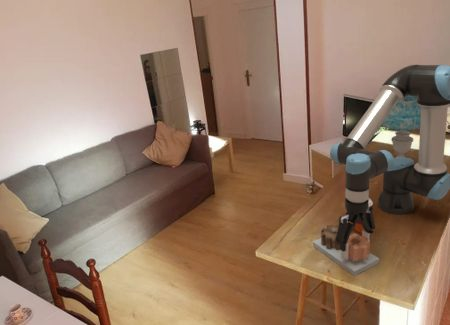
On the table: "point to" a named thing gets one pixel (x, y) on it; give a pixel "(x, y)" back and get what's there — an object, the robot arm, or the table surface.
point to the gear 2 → (358, 247)
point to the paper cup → (358, 225)
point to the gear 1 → (330, 237)
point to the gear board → (349, 263)
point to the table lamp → (403, 123)
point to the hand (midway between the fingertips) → (355, 251)
